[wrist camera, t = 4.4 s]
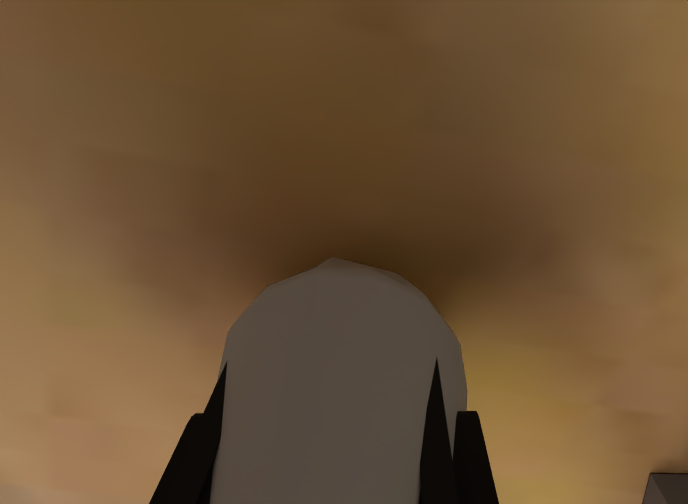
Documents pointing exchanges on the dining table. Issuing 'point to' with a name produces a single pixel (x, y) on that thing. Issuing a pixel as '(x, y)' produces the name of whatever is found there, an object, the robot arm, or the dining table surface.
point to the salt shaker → (333, 390)
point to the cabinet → (667, 489)
